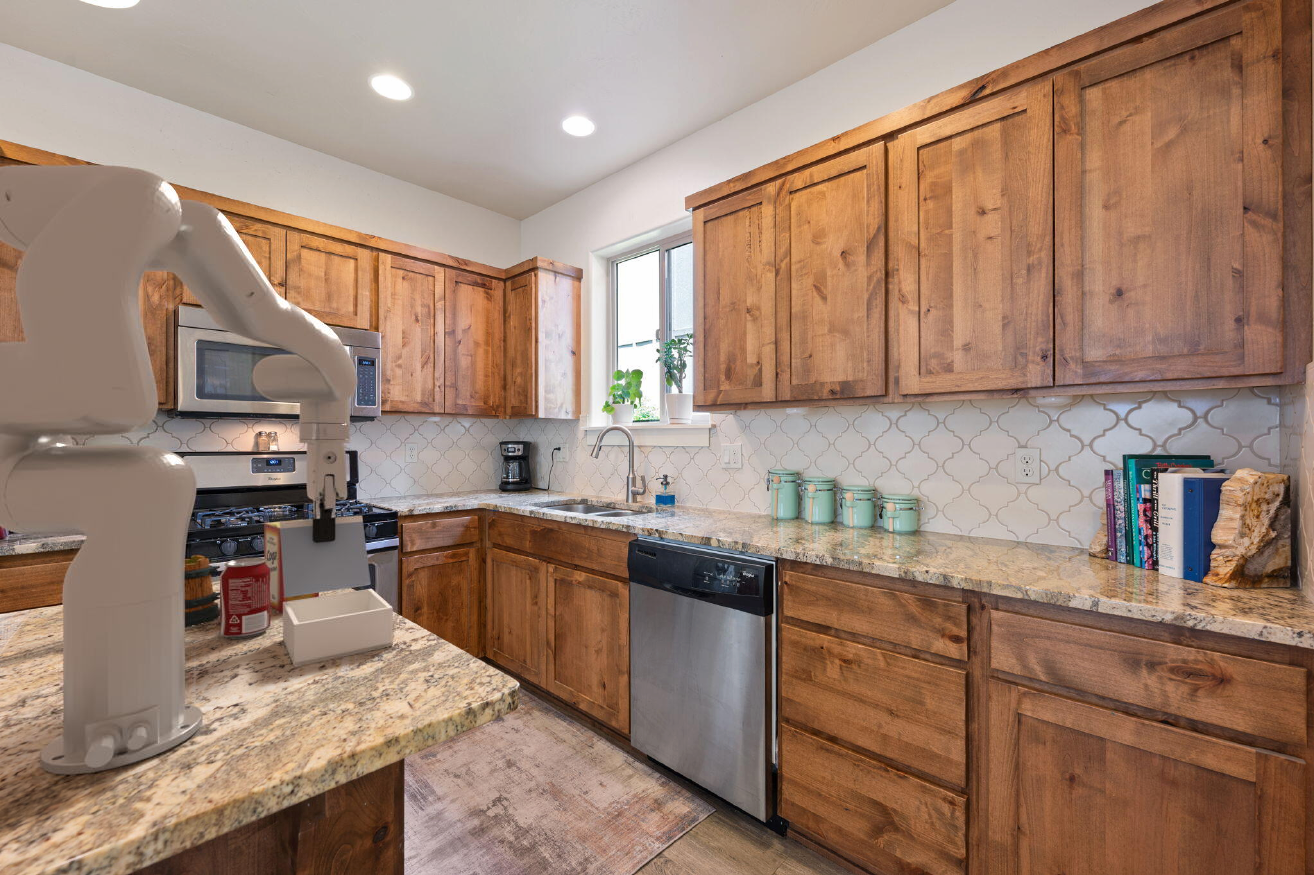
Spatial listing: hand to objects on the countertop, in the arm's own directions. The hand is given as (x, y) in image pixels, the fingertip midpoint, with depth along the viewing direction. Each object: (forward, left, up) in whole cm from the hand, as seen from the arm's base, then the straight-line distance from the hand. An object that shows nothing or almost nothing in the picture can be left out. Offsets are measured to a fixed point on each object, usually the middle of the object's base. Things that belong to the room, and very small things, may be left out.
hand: (323, 541), depth 98 cm
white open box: (-10, 0, -15) cm, 18 cm away
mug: (+19, +20, -15) cm, 31 cm away
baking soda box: (+19, +3, -15) cm, 24 cm away
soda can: (+4, +11, -15) cm, 19 cm away
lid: (0, 0, -2) cm, 2 cm away
